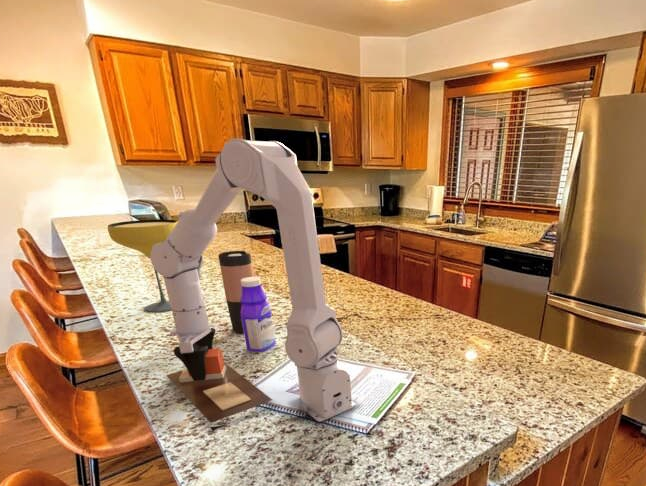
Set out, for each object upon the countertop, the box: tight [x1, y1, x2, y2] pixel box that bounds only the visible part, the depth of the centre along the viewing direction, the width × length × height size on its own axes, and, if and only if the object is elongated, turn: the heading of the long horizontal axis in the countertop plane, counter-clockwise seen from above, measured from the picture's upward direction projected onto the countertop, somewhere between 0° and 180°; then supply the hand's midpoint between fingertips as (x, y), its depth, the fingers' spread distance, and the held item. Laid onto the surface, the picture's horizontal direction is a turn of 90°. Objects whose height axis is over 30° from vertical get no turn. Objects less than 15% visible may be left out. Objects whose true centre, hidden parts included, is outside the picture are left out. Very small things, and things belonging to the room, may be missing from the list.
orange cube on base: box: [179, 347, 226, 382], centre depth 85 cm, size 8×4×5 cm, turn 103°
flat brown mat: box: [166, 362, 273, 431], centre depth 82 cm, size 24×11×2 cm, turn 43°
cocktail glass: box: [107, 218, 179, 313], centre depth 127 cm, size 18×18×25 cm
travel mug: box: [217, 250, 255, 335], centre depth 110 cm, size 8×8×20 cm
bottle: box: [240, 276, 277, 353], centre depth 97 cm, size 7×6×17 cm
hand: (203, 371), depth 85 cm, fingers open, 6 cm apart
